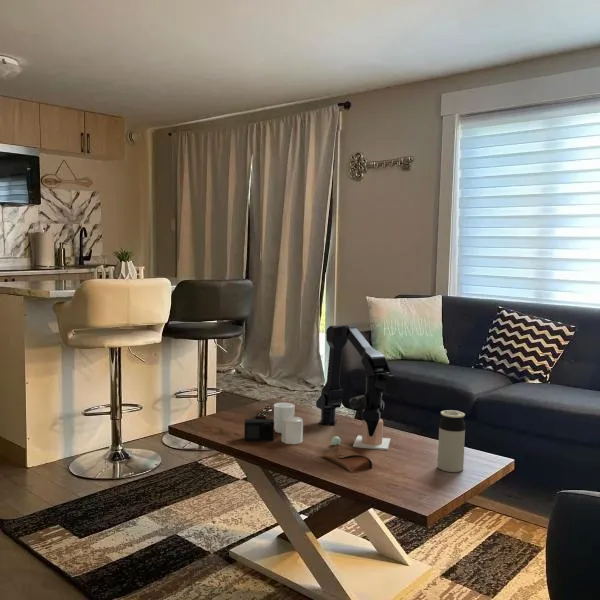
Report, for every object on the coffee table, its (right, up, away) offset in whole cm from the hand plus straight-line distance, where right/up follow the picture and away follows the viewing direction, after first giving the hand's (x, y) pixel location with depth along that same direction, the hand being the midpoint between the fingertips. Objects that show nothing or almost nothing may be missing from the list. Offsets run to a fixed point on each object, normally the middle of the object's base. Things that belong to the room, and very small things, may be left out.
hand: (372, 432), depth 217 cm
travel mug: (+22, -7, -23) cm, 33 cm away
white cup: (-32, -3, +13) cm, 35 cm away
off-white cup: (-29, -3, +1) cm, 29 cm away
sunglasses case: (-11, -6, -20) cm, 24 cm away
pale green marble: (-13, -4, -3) cm, 14 cm away
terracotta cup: (0, -3, 0) cm, 3 cm away
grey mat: (0, -4, 0) cm, 4 cm away
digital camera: (-41, -3, +1) cm, 41 cm away
